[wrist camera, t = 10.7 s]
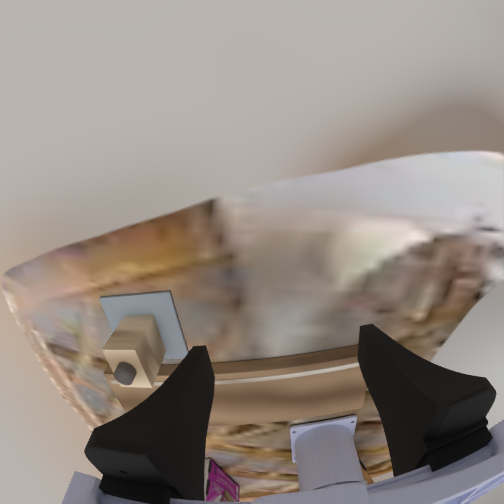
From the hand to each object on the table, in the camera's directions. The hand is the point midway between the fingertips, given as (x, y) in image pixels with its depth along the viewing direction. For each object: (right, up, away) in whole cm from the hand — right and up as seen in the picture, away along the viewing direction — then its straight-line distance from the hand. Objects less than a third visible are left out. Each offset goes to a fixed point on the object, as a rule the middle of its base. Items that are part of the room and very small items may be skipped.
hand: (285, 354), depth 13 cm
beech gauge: (-11, -3, +12) cm, 16 cm away
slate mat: (-11, -2, +12) cm, 17 cm away
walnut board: (-3, -9, +14) cm, 17 cm away
